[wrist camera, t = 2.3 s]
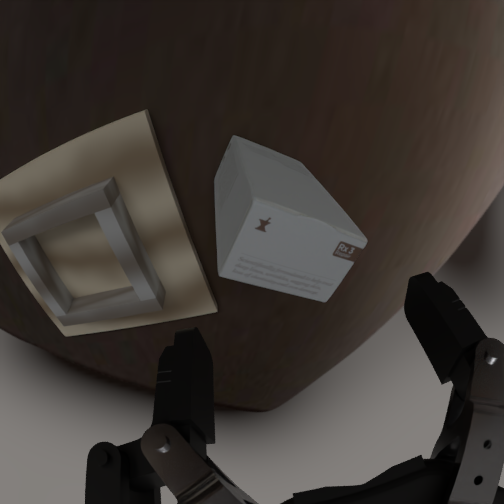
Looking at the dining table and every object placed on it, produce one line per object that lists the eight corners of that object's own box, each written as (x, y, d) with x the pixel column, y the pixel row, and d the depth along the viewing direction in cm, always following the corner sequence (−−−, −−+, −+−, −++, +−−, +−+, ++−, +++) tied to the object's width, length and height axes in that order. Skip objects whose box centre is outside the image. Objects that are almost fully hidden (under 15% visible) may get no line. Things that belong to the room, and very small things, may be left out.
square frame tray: (-19, 192, 20) (-38, 208, 17) (147, 109, 19) (135, 116, 16) (67, 330, 32) (59, 352, 29) (217, 304, 31) (217, 330, 28)
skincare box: (212, 181, 23) (208, 283, 13) (233, 130, 21) (247, 195, 11) (282, 206, 25) (323, 311, 15) (306, 159, 23) (372, 242, 13)
